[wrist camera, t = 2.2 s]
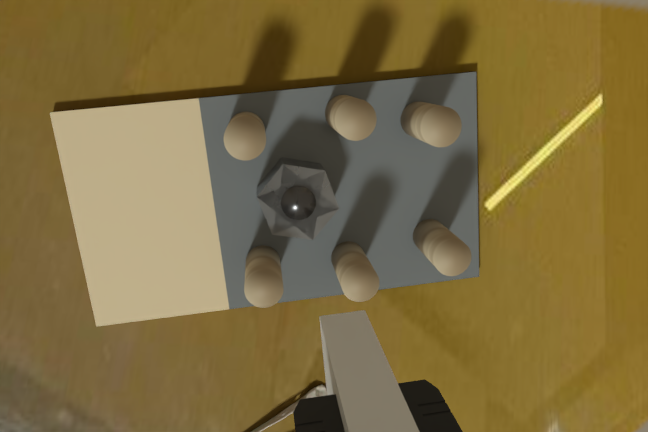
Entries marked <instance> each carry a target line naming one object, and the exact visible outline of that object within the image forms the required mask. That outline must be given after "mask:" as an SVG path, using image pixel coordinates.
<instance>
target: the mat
mask: <svg viewBox="0 0 648 432" xmlns="http://www.w3.org/2000/svg"><path fill="white" fill-rule="evenodd" d="M338 95H348V96H352V97H355V98H358V99H362V100H365V101H367V102H368V103H369V104H370V105H371V106H372V107H373V108H374V110H375V113H376V118H377V121H376V126H375V129H374V130H373V132H372V133H371V134H370V135H369V136H368V137H367V138H365V139H363V140H359V141H352V140H348V139H346V138H345V137H343V136H342V135H341V134H339V133H338V132H337V131H336V130H334V129H333V128H332V127H331V126H330V125H329V124H328V123H327V121H326V118H325V109H326V106H327V104H328V102H329V101H330V100H331V99H332V98H334V97H335V96H338ZM418 101H420V102H426V103H431V104H435V105H440V106H445V107H449V108H452V109H453V110H455V111H456V112H457V113H458V115H459V117H460V119H461V124H462V128H461V132H460V135H459V137H458V138H457V140H456V141H455V142H454V143H452V144H451V145H449V146H446V147H435V146H432V145H430V144H428V143H425V142H423V141H421V140H419V139H416V138H414V137H412V136H410V135H408V134H406V133H405V132H404V130H403V129H402V126H401V114H402V112H403V110H404V109H405V107H406V106H408V105H409V104H411V103H413V102H418ZM245 111H247V112H252V113H254V114H256V115H258V116H259V117H260V118H261V120H262V121H263V123H264V127H265V134H266V145H265V148H264V150H263V152H262V153H261V154H260V155H259V156H258V157H256V158H254V159H252V160H239V159H236V158H234V157H233V156H231V155H230V154H229V153H228V151H227V150H226V148H225V145H224V133H225V130H226V128H227V126H228V124H229V122H230V120H231V119H232V117H233V116H235V115H236V114H238V113H240V112H245ZM50 116H51V121H52V125H53V130H54V135H55V139H56V144H57V148H58V153H59V157H60V162H61V167H62V171H63V176H64V180H65V185H66V189H67V194H68V199H69V203H70V208H71V212H72V217H73V222H74V226H75V231H76V235H77V240H78V244H79V249H80V254H81V258H82V263H83V267H84V272H85V277H86V281H87V286H88V290H89V295H90V299H91V304H92V309H93V313H94V318H95V322H96V326H104V325H111V324H119V323H127V322H134V321H142V320H150V319H157V318H165V317H173V316H180V315H188V314H196V313H203V312H211V311H219V310H226V309H234V308H242V307H249V306H254V305H253V304H251V303H250V302H249V301H248V300H247V298H246V296H245V293H244V283H245V265H246V257H247V255H248V253H249V252H250V251H251V250H252V249H253V248H255V247H257V246H263V245H264V246H269V247H271V248H273V249H274V250H275V251H276V252H277V253H278V255H279V257H280V264H281V272H282V280H283V289H284V290H283V295H282V297H281V299H280V300H279V301H278V302H277V303H280V302H288V301H295V300H303V299H311V298H318V297H326V296H333V295H341V294H344V293H343V290H342V288H341V285H340V283H339V280H338V278H337V275H336V272H335V270H334V267H333V265H332V262H331V255H332V252H333V250H334V248H335V247H336V246H337V245H339V244H340V243H342V242H347V241H350V242H354V243H357V244H358V245H359V246H360V247H361V248H362V249H363V251H364V253H365V255H366V256H367V258H368V260H369V261H370V263H371V265H372V266H373V268H374V270H375V272H376V273H377V275H378V277H379V289H387V288H395V287H402V286H410V285H418V284H425V283H433V282H441V281H448V280H456V279H464V278H471V277H479V230H478V159H477V88H476V72H465V73H455V74H444V75H434V76H423V77H413V78H402V79H392V80H382V81H371V82H361V83H350V84H340V85H329V86H319V87H308V88H298V89H287V90H277V91H267V92H256V93H246V94H235V95H225V96H214V97H204V98H193V99H183V100H172V101H162V102H152V103H141V104H131V105H120V106H110V107H99V108H89V109H78V110H68V111H57V112H50ZM281 157H282V158H289V159H295V160H302V161H308V162H315V163H320V164H321V165H322V167H323V168H324V170H325V171H326V174H327V177H328V180H329V182H330V185H331V188H332V190H333V193H334V196H335V198H336V201H337V204H338V207H339V210H338V211H337V212H336V213H335V214H334V216H333V217H332V218H331V219H330V220H329V222H328V223H327V224H326V225H325V226H324V228H323V229H322V230H321V231H320V232H319V233H318V235H317V236H316V237H315V238H314V239H313V240H309V239H301V238H294V237H286V236H279V235H272V233H271V230H270V228H269V226H268V223H267V221H266V218H265V216H264V214H263V211H262V209H261V206H260V204H259V201H258V199H257V187H258V185H259V184H260V183H261V182H262V181H263V179H264V178H265V177H266V176H267V174H268V173H269V172H270V171H271V169H272V168H273V167H274V166H275V165H276V163H277V162H278V161H279V160H280V158H281ZM426 219H434V220H437V221H439V222H440V223H441V224H442V225H444V226H445V227H446V228H447V229H448V230H450V231H451V232H452V233H453V234H454V235H456V236H457V237H458V238H459V239H460V240H462V241H463V242H464V243H465V244H466V245H467V246H468V247H469V249H470V251H471V262H470V265H469V266H468V268H467V269H466V270H465V271H464V272H463V273H461V274H459V275H457V276H446V275H443V274H442V273H440V272H439V271H438V270H437V269H436V267H435V266H434V265H433V264H432V263H431V262H430V261H429V260H428V259H427V257H426V256H425V255H424V254H423V253H422V252H421V251H420V250H419V249H418V247H417V246H416V245H415V244H414V241H413V231H414V229H415V227H416V226H417V225H418V224H419V223H420V222H422V221H423V220H426ZM379 289H378V290H379Z"/></svg>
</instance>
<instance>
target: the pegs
mask: <svg viewBox="0 0 648 432" xmlns="http://www.w3.org/2000/svg"><path fill="white" fill-rule="evenodd" d="M325 118H326V121H327V123H328V124H329V125H330V126H331V127H332V128H333V129H334V130H336V131H337V132H338V133H339V134H341V135H342V136H343V137H345V138H346V139H348V140H352V141H359V140H363V139H365V138H367V137H368V136H369V135H370V134H371V133H372V132H373V130H374V129H375V126H376V121H377V118H376V113H375V110H374V108H373V107H372V106H371V105H370V104H369V103H368V102H367V101H365V100H362V99H358V98H355V97H352V96H348V95H338V96H335V97H334V98H332V99H331V100H330V101H329V102H328V104H327V106H326V109H325ZM401 126H402V129H403V130H404V132H405V133H406V134H408V135H410V136H412V137H414V138H416V139H419V140H421V141H423V142H425V143H428V144H430V145H432V146H435V147H446V146H449V145H451V144H452V143H454V142H455V141H456V140H457V138H458V137H459V135H460V132H461V128H462V124H461V119H460V117H459V115H458V113H457V112H456V111H455V110H453V109H452V108H449V107H445V106H440V105H435V104H431V103H426V102H420V101H418V102H413V103H411V104H409V105H408V106H406V107H405V109H404V110H403V112H402V114H401ZM224 145H225V148H226V150H227V151H228V153H229V154H230V155H231V156H233V157H234V158H236V159H239V160H252V159H254V158H256V157H258V156H259V155H260V154H261V153H262V152H263V150H264V148H265V145H266V134H265V127H264V123H263V121H262V120H261V118H260V117H259V116H258V115H256V114H254V113H252V112H247V111H245V112H240V113H238V114H236V115H235V116H233V117H232V119H231V120H230V122H229V124H228V126H227V128H226V130H225V133H224ZM413 241H414V244H415V245H416V246H417V247H418V249H419V250H420V251H421V252H422V253H423V254H424V255H425V256H426V257H427V259H428V260H429V261H430V262H431V263H432V264H433V265H434V266H435V267H436V269H437V270H438V271H439V272H440V273H442V274H443V275H446V276H457V275H459V274H461V273H463V272H464V271H465V270H466V269H467V268H468V266H469V265H470V262H471V251H470V249H469V247H468V246H467V245H466V244H465V243H464V242H463V241H462V240H460V239H459V238H458V237H457V236H456V235H454V234H453V233H452V232H451V231H450V230H448V229H447V228H446V227H445V226H444V225H442V224H441V223H440V222H439V221H437V220H434V219H426V220H423V221H422V222H420V223H419V224H418V225H417V226H416V227H415V229H414V231H413ZM331 262H332V265H333V267H334V270H335V272H336V275H337V278H338V280H339V283H340V285H341V288H342V290H343V293H344V294H345V296H346V297H347V298H349V299H350V300H352V301H356V302H363V301H367V300H369V299H371V298H372V297H373V296H374V295H375V294H376V293H377V291H378V289H379V277H378V275H377V273H376V272H375V270H374V268H373V266H372V265H371V263H370V261H369V260H368V258H367V256H366V255H365V253H364V251H363V249H362V248H361V247H360V246H359V245H358V244H357V243H354V242H350V241H347V242H342V243H340V244H339V245H337V246H336V247H335V248H334V250H333V252H332V255H331ZM283 290H284V289H283V280H282V272H281V264H280V257H279V255H278V253H277V252H276V251H275V250H274V249H273V248H271V247H269V246H264V245H263V246H257V247H255V248H253V249H252V250H251V251H250V252H249V253H248V255H247V257H246V265H245V283H244V293H245V296H246V298H247V300H248V301H249V302H250V303H251V304H253V305H254V306H257V307H261V308H266V307H270V306H273V305H274V304H276V303H277V302H278V301H279V300H280V299H281V297H282V295H283Z"/></svg>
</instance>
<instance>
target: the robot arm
mask: <svg viewBox="0 0 648 432" xmlns="http://www.w3.org/2000/svg"><path fill="white" fill-rule="evenodd" d="M319 318H320V328H321V338H322V348H323V358H324V368H325V378H326V388H327V394H328V395H326V396H319V397H312V398H306V399H300V400H299V402H298V404H297V406H296V408H295V410H294V421H295V430H296V432H462V430H461V428H460V427H459V425H458V423H457V421H456V419H455V418H454V416H453V414H452V413H451V412H450V409H449V407H448V405H447V404H446V403H445V400H444V398H443V397H442V395H441V393H440V391H439V390H438V388H436V387H435V386H433V385H432V384H431V383H429V382H428V381H426V380H419V381H412V382H405V383H399V384H398V383H397V381H396V378H395V376H394V374H393V372H392V370H391V367H390V365H389V363H388V361H387V358H386V356H385V354H384V352H383V350H382V347H381V345H380V343H379V341H378V338H377V336H376V334H375V332H374V330H373V327H372V325H371V323H370V321H369V318H368V316H367V314H366V312H365V310H363V311H355V312H348V313H340V314H333V315H325V316H319Z"/></svg>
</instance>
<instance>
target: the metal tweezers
mask: <svg viewBox="0 0 648 432" xmlns="http://www.w3.org/2000/svg"><path fill="white" fill-rule="evenodd" d="M326 395H328V394H327V390H326V387H325V386H324V385H319V386H317V387H315V388H313V389H311V390H310V391H309V392H308V393H307V394H306V395H304V396H303V397H302V398H300V399H306V398H312V397H319V396H326ZM300 399H299V400H300ZM299 400H298V401H297V402H295V403H293V404H292V405H290V406H289V407H288V408H286V409H285V410H283V411H282V412H280V413H279V414H278V415H276V416H275V417H273V418H272V419H270V420H269V421H267V422H266V423H264V424H262V425H261V426H259V427H257V428H256V429H254V430H253V431H251V432H261V431H263V430H264V429H266V428H268V427H269V426H271V425H273V424H275V423H277V422H279V421H280V420H282V419H284V418H285V417H287V416H288V415H290V414H292V413H293V412H294V410H295V408H296V406H297V404H298V402H299Z"/></svg>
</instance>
